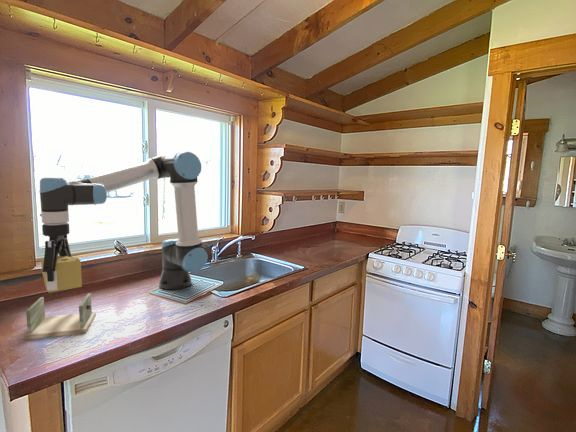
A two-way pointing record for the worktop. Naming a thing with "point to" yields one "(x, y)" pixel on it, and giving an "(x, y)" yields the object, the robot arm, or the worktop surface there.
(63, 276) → the cheese
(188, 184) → the robot arm
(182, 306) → the worktop surface
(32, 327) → the holder
